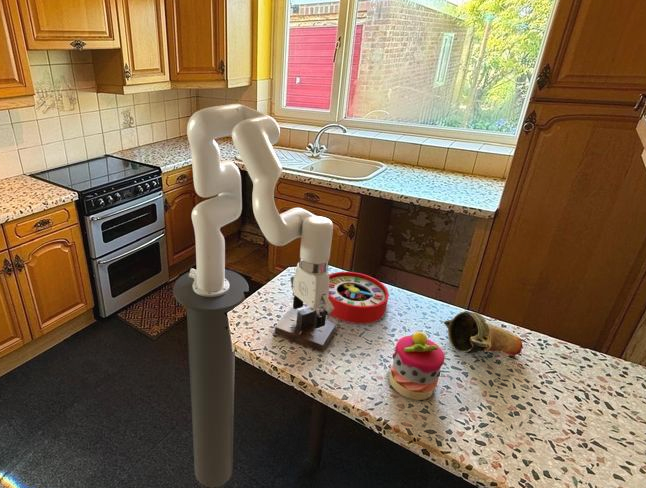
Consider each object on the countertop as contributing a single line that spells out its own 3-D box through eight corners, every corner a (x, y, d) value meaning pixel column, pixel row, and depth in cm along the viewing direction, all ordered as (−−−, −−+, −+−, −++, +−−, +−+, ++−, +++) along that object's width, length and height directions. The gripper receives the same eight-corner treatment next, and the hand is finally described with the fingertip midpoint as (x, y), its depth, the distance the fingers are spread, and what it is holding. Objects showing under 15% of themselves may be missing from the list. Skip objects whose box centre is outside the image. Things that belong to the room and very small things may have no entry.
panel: (274, 333, 113) (275, 326, 112) (290, 313, 121) (291, 306, 120) (321, 352, 106) (322, 344, 105) (335, 330, 115) (336, 322, 113)
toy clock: (328, 266, 135) (391, 279, 128) (326, 281, 138) (387, 294, 131) (315, 297, 119) (385, 314, 112) (313, 313, 122) (382, 330, 114)
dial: (300, 329, 111) (302, 314, 108) (296, 325, 112) (297, 310, 110) (316, 324, 113) (318, 309, 111) (311, 320, 115) (313, 305, 112)
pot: (551, 341, 97) (485, 319, 96) (531, 383, 98) (466, 362, 97) (499, 318, 114) (443, 299, 113) (484, 353, 116) (428, 335, 114)
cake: (379, 369, 101) (391, 322, 94) (418, 365, 102) (432, 318, 95) (401, 403, 91) (415, 353, 85) (444, 398, 93) (461, 348, 86)
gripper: (282, 252, 109) (279, 304, 117) (324, 282, 95) (317, 339, 103) (305, 246, 112) (300, 297, 120) (348, 274, 98) (340, 330, 106)
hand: (308, 316), depth 111 cm, fingers open, 9 cm apart
